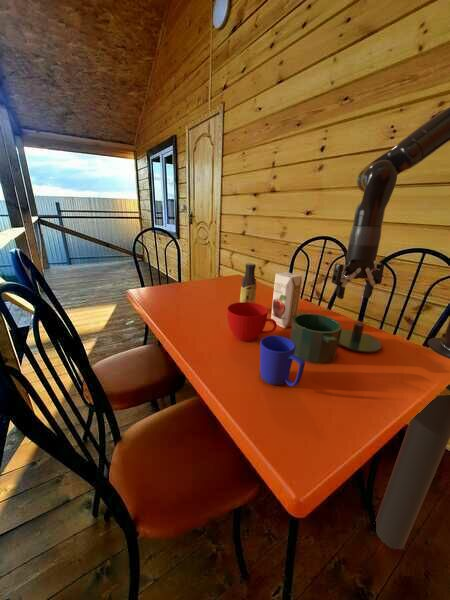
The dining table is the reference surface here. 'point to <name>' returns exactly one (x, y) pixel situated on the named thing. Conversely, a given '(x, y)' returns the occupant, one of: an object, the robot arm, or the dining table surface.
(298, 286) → the juice carton
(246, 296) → the sauce bottle
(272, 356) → the mug
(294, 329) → the pot
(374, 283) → the robot arm
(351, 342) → the lid
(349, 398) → the dining table surface
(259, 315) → the ceramic cup
